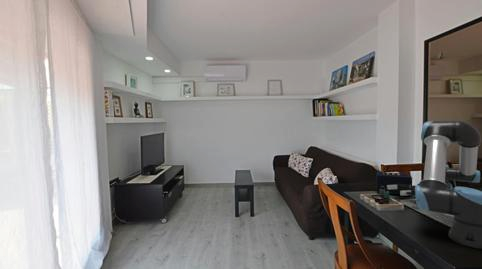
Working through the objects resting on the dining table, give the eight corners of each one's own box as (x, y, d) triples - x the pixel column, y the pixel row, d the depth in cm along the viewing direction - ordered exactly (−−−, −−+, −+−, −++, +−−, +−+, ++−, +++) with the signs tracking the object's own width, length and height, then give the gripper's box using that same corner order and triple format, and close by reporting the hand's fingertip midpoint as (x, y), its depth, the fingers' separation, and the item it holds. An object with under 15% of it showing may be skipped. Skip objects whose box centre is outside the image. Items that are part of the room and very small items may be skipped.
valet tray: (403, 210, 151) (403, 204, 151) (378, 211, 151) (378, 205, 151) (382, 198, 173) (382, 193, 173) (360, 199, 173) (360, 194, 173)
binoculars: (368, 186, 166) (384, 184, 166) (370, 201, 167) (385, 200, 166) (375, 190, 157) (391, 188, 157) (377, 206, 158) (393, 204, 158)
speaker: (409, 192, 185) (409, 172, 184) (412, 197, 174) (412, 176, 173) (376, 189, 195) (376, 170, 194) (376, 194, 184) (376, 174, 183)
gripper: (441, 200, 150) (406, 202, 150) (412, 189, 175) (382, 190, 174) (441, 188, 149) (406, 189, 149) (412, 178, 174) (382, 179, 174)
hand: (393, 190), depth 162 cm, fingers open, 13 cm apart
